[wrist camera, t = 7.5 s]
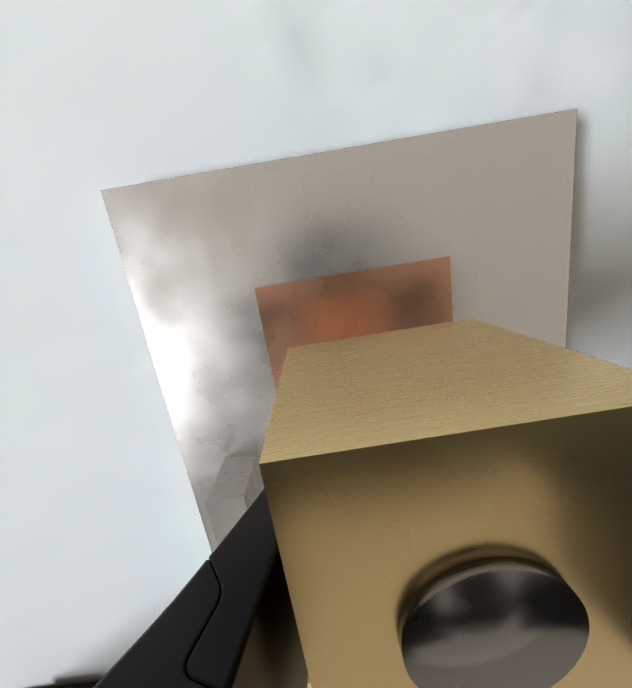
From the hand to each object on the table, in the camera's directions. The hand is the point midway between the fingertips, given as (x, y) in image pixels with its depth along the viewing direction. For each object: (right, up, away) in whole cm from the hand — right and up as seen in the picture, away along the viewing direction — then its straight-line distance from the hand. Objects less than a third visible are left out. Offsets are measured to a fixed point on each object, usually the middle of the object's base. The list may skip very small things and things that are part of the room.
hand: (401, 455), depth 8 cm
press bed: (+1, -2, +8) cm, 8 cm away
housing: (0, 0, +1) cm, 1 cm away
